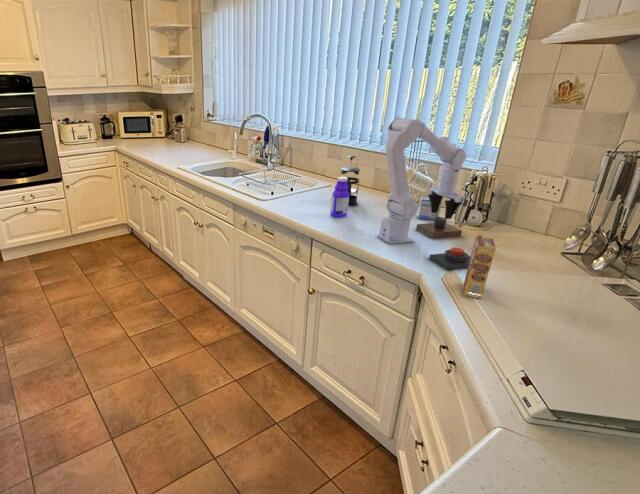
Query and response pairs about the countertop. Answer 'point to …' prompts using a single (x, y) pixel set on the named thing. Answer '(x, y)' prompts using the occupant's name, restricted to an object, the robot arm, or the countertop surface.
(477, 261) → the candy box
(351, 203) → the french press
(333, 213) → the bottle
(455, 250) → the switch button
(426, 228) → the panel
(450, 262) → the switch block
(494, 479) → the countertop surface
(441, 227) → the dimmer knob
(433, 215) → the medicine box
